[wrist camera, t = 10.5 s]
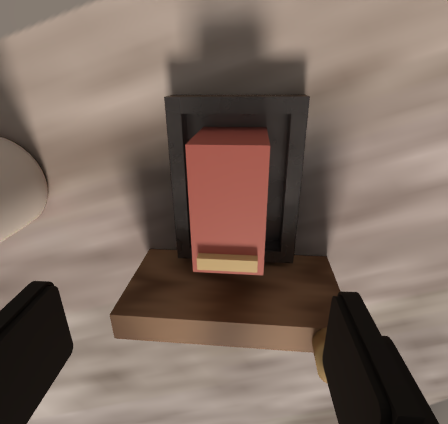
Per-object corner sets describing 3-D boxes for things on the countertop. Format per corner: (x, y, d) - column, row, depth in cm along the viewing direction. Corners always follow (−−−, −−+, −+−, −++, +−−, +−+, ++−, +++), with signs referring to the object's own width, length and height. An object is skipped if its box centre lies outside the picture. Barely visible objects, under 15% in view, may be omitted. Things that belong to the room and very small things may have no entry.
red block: (266, 127, 21) (270, 148, 15) (261, 230, 24) (263, 281, 18) (203, 126, 21) (182, 147, 15) (206, 228, 25) (191, 277, 19)
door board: (152, 269, 27) (101, 366, 18) (149, 246, 26) (93, 337, 17) (323, 278, 26) (359, 387, 17) (327, 254, 25) (367, 356, 16)
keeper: (183, 245, 26) (177, 258, 24) (172, 95, 21) (164, 96, 19) (290, 249, 25) (293, 263, 23) (304, 94, 20) (309, 96, 18)
